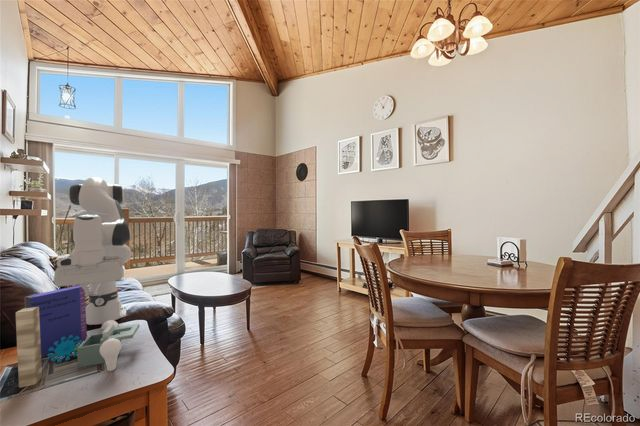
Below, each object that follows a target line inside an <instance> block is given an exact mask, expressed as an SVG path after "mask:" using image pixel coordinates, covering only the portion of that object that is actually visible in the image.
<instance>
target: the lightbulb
mask: <svg viewBox="0 0 640 426" xmlns="http://www.w3.org/2000/svg"><path fill="white" fill-rule="evenodd" d="M121 349H122V341H121V342H120V341H119V340H118V339H115V338H111V339H108V340H106V341H105V342H103V344H102V345H101V346H100V354H101V356H102V357H103V358H104V360H105V365H106V370H107V371H108V372H113V371H114V370H115V369H116V368H117V362H118V356H119V354H120V352H121Z"/></svg>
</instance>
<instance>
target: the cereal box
mask: <svg viewBox="0 0 640 426" xmlns="http://www.w3.org/2000/svg"><path fill="white" fill-rule="evenodd" d="M23 298H24V309H25V308H32V307H39V320H40V342H41V358H43V357H45V356H48V354H49V353H52V354H54V353H55V351H49V349H50V347H53V348H54V349H56V348H57V346H56V345H54V342H56V341H58V342H59V344H61V342H62V340H61V338H62V337H66V339H65V340H64V342H65V341H66V340H67V339H68V338H69V336H70V335H73V336H74V337H73V338H72V339H70V340H69V341H71V340H73V339H74V338H75V337H76V336H78V337H79V340H75V341H74V342H77V341H80V340H82V343H83V341H85V340H86V339H87V338H88V328H87V324H86V306H87V305H86V291H84V289H83V288H82V285H81V284H80V285H72V286H70V287H69V286H68V287H65V288H61V289H60V288H59V289H56V290H51V291H46V292H42V293H35V294H31V295H28V296H27V295H26V296H24V297H23ZM59 344H58V345H59Z"/></svg>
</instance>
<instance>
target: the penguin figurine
mask: <svg viewBox="0 0 640 426" xmlns="http://www.w3.org/2000/svg"><path fill="white" fill-rule="evenodd" d="M112 324H114V328H115V327H119V323H118V322H117V321H116V320H114V321H113V320H108V321H106V322H105V323H103V324H101V327H100V328H99V332H100V333H103V332H104V330H105V329H106V328H107V327H108V326H109V325H112Z"/></svg>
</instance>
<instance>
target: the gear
mask: <svg viewBox="0 0 640 426" xmlns="http://www.w3.org/2000/svg"><path fill="white" fill-rule="evenodd" d="M73 337H74V336H73V335H70V336H69V338H68V339H67V340H66V341H65V342H64V340H65V339H66V337H62V338H61V340H62V342H61V344H59V342H58V341H56V342H54V345H56V346H57V348H56V349H54V348H53V347H50V349H49V351H55V352H54V353H49V354H48V355H47V358H50V361H51V362H53V363H54V362H57V363H58V364H59V363H60V364H61V363H63V360H64V361H66V362H67V361H70V360H71V357H70V356H71V355H72V356H73V357H77V348H78V347H79V346H80V345H81V344H82V343H83V342H82V340H80V341H77V342H74V341H75V340H79V337H78V336H76V337H75V338H74V339H73V340H71V341H69V340H70V339H72V338H73ZM58 344H59V345H58ZM54 356H55V357H54ZM64 358H65V359H64ZM56 360H57V361H56Z"/></svg>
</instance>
